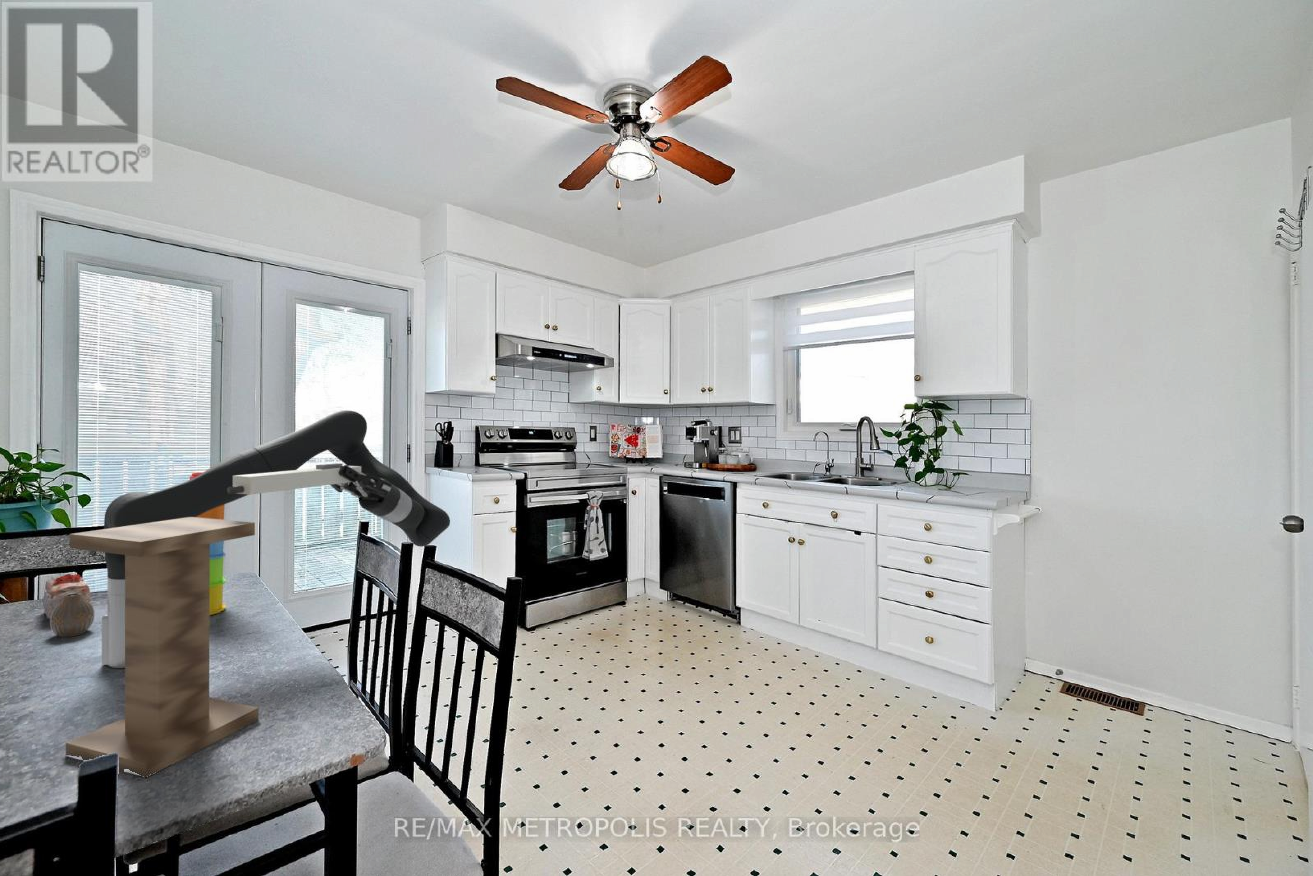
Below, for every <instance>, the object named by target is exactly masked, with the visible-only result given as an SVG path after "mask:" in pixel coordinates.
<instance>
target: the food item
mask: <svg viewBox="0 0 1313 876" xmlns="http://www.w3.org/2000/svg"><path fill="white" fill-rule="evenodd" d="M43 590H44V591H43V592H44V594H43V598H42V608H43V610H44V614H45V615H46V619H48V620H50V616H51V613H52V611H53V610H54V608H55V607H56V606H57V605H58V604H59V603H60V602H61V601H62V600H63V598H64V596H65V595H67V594H72V593H80V594H81V596H82V597H83V598H84V599H86V600H87V601H88V602H89V603H90V604H91V589H90V586H89V585H88V584H87V583H86V582H85V578H82V576H81V575H80V574H71V573H67V574H65V575H61V576H58V577H54V576H53V577H52V576H51V577H50V579H48V580H46V581H45V588H43Z"/></svg>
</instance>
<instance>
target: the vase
mask: <svg viewBox="0 0 1313 876" xmlns="http://www.w3.org/2000/svg"><path fill="white" fill-rule="evenodd" d="M94 619H95V609H94V606H93V604H92V603H91V602H90V603H89V602H88V601H87V600H86V599H84V598H83V597H82V596H81V594H80V593H72V594H67V595H65V596H64V598H63V600H62V601H61V602H60V603H59V604H58V605H57V606H56V607H55V608H54V610H53V611H52V613H51V616H50V619H49V626H50V629H51V631H52V633H53V634H55V635H56V636H58V637H60V638H61V637H62V638H69V637H75V636H79V635H82V634H84V633H86V632H87V631H88V630H89V629H90V628H91V626H92V625H93V624H94V622H95V621H94Z"/></svg>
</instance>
